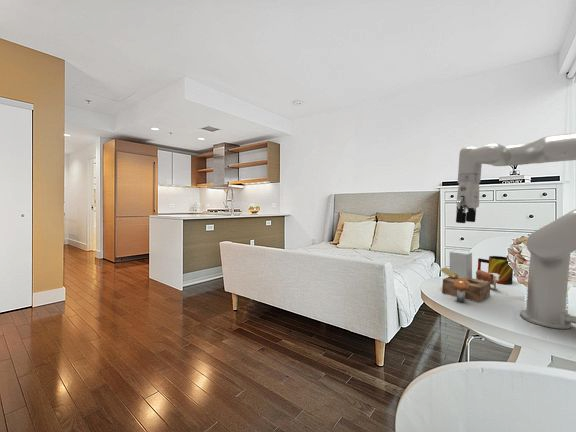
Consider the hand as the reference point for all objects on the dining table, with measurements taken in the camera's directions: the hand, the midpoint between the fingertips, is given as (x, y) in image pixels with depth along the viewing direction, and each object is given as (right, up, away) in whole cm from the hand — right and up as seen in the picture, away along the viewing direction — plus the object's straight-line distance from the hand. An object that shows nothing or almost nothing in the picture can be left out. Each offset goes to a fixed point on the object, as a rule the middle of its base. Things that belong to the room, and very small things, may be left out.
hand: (465, 222), depth 108 cm
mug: (+33, -30, +28) cm, 53 cm away
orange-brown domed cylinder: (-2, -32, 0) cm, 32 cm away
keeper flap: (+1, -23, +13) cm, 27 cm away
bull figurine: (+21, -31, +17) cm, 41 cm away
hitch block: (+5, -31, +8) cm, 33 cm away
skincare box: (+15, -30, +27) cm, 43 cm away
